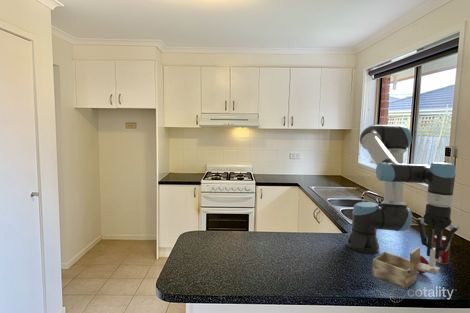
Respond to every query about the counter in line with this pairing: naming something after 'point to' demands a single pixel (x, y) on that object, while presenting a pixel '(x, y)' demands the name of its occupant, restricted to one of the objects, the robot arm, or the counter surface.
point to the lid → (420, 266)
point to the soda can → (443, 254)
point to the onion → (423, 260)
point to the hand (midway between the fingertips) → (432, 265)
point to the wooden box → (394, 270)
